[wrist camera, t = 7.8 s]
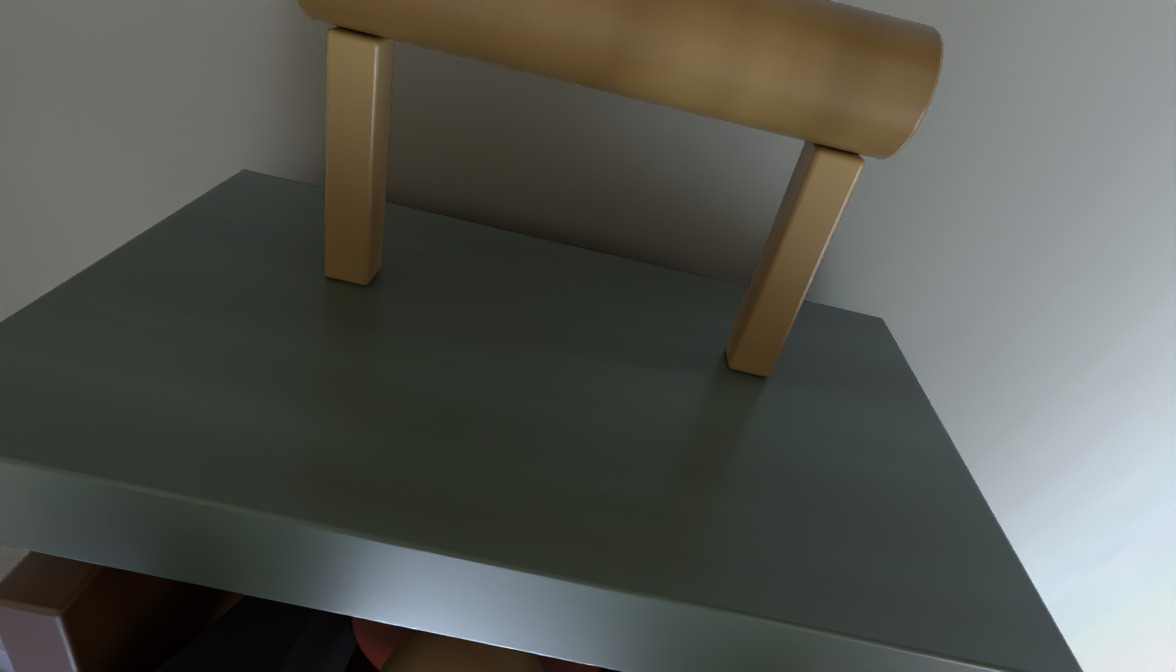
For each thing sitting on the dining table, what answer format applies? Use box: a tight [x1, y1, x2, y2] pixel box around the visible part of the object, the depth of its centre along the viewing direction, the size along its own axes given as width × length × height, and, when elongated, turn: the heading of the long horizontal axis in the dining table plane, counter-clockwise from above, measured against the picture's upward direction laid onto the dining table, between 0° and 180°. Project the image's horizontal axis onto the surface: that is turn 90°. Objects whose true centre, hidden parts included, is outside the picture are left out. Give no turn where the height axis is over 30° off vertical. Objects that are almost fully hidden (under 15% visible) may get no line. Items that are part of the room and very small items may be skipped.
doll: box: [351, 616, 602, 672], centre depth 11 cm, size 4×4×6 cm
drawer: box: [0, 0, 1083, 672], centre depth 11 cm, size 17×11×7 cm, turn 168°
